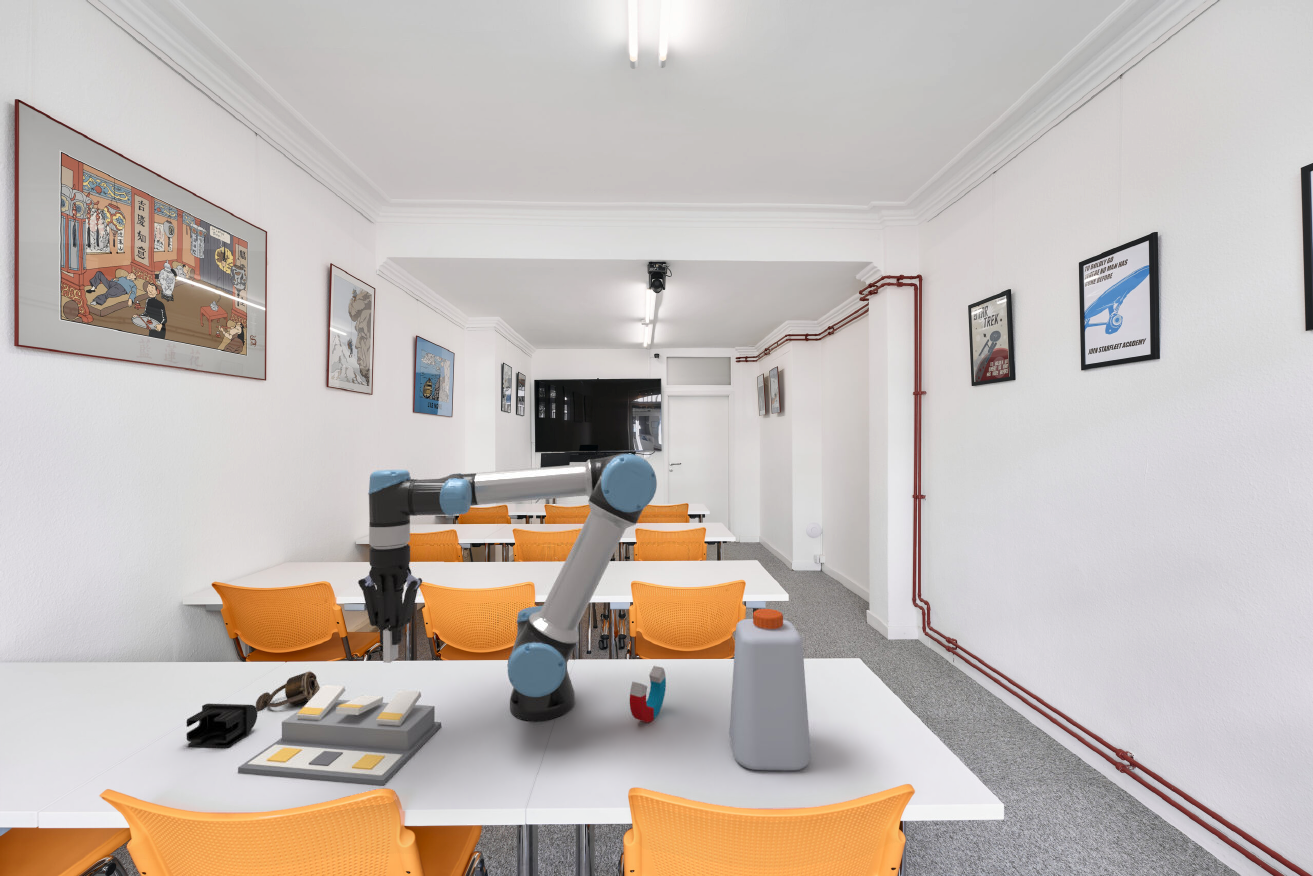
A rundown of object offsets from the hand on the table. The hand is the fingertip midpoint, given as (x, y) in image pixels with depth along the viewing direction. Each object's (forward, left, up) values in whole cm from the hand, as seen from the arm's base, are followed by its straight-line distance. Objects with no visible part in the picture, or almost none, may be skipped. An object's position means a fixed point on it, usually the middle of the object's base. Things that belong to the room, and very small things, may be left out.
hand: (390, 659), depth 109 cm
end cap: (+38, +1, -19) cm, 42 cm away
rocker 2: (0, -3, -11) cm, 12 cm away
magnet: (-51, -18, -18) cm, 57 cm away
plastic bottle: (-77, -9, -19) cm, 80 cm away
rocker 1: (+18, -3, -11) cm, 22 cm away
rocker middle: (+9, -3, -11) cm, 15 cm away
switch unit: (+9, +1, -18) cm, 20 cm away
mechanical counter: (+36, -15, -19) cm, 43 cm away
